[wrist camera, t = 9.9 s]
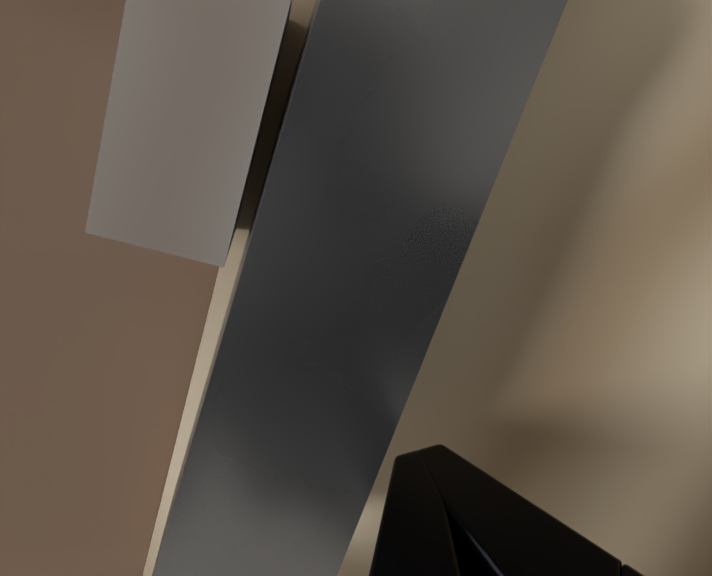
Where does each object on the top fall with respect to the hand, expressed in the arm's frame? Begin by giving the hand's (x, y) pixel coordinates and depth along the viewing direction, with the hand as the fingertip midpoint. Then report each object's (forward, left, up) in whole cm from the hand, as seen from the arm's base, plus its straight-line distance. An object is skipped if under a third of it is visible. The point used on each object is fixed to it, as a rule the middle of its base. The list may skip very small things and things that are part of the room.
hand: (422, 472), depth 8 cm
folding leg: (+2, -3, -1) cm, 4 cm away
